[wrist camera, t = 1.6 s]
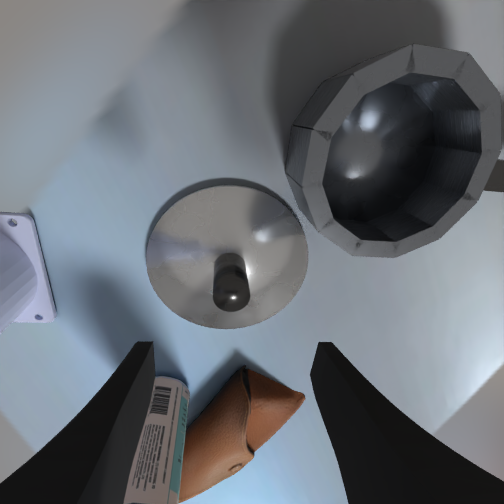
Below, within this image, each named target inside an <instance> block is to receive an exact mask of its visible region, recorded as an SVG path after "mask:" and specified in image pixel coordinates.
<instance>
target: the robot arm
mask: <svg viewBox="0 0 504 504" xmlns="http://www.w3.org/2000/svg"><path fill="white" fill-rule="evenodd" d="M12 219H14V220H16V222H17V224H14V223H13V222H12ZM38 314H39V315H41V316H39V315H38ZM56 317H57V313H56V309H55V305H54V301H53V297H52V293H51V288H50V284H49V280H48V276H47V272H46V268H45V264H44V260H43V256H42V252H41V247H40V243H39V239H38V235H37V231H36V227H35V223H34V220H33V218H32V217H31V216H29V215H28V214H24V213H9V212H0V334H1V333H2V332H3V331H4V330H5V329H6V328H7V327H8V326H9V325H10V324H11V323H12V322H39V323H49V322H52V321H54V320H55V318H56ZM310 377H311V382H312V386H313V390H314V394H315V398H316V401H317V404H318V407H319V410H320V413H321V415H322V418H323V421H324V424H325V427H326V429H327V432H328V435H329V438H330V440H331V443H332V446H333V449H334V452H335V455H336V458H337V461H338V464H339V468H340V472H341V476H342V480H343V483H344V487H345V491H346V495H347V499H348V503H349V504H504V481H502V480H500V479H499V478H497V477H495V476H494V475H492V474H490V473H488V472H486V471H485V470H483V469H482V468H480V467H478V466H477V465H475V464H473V463H472V462H470V461H469V460H467V459H466V458H464V457H463V456H461V455H460V454H458V453H456V452H455V451H453V450H452V449H450V448H449V447H448V446H446V445H445V444H443V443H442V442H440V441H439V440H438V439H436V438H435V437H434V436H432V435H431V434H430V433H428V432H427V431H425V430H424V429H423V428H421V427H420V426H419V425H418V424H416V423H415V422H414V421H412V420H411V419H410V418H409V417H408V416H406V415H405V414H404V413H403V412H402V411H400V410H399V409H398V408H397V407H396V406H394V405H393V404H392V403H391V402H390V401H389V400H388V399H387V398H386V397H385V396H383V395H382V394H381V393H380V392H379V391H378V390H377V389H376V388H375V387H374V386H373V385H372V384H371V383H370V382H369V381H368V380H367V379H366V378H365V377H364V376H363V375H362V374H361V373H360V372H359V371H358V370H357V369H356V368H355V367H354V366H353V365H352V364H351V362H350V361H349V360H348V359H347V358H346V357H345V356H344V355H343V354H342V353H341V352H340V351H339V350H338V348H337V347H336V346H335V345H334V344H333V343H332V342H319V343H318V346H317V350H316V354H315V358H314V361H313V365H312V369H311V372H310ZM154 381H155V364H154V348H153V342H139V341H138V342H137V343H135V345H134V346H133V348H132V349H131V350H130V352H129V353H128V355H127V356H126V357H125V359H124V360H123V361H122V363H121V364H120V365H119V367H118V368H117V369H116V371H115V372H114V373H113V374H112V376H111V377H110V378H109V379H108V381H107V382H106V383H105V384H104V385H103V387H102V388H101V389H100V390H99V391H98V392H97V393H96V395H95V396H94V397H93V398H92V399H91V400H90V401H89V402H88V404H87V405H86V406H85V407H84V408H83V409H82V410H81V411H80V412H79V413H78V414H77V415H76V416H75V417H74V418H73V419H72V420H71V421H70V422H69V423H68V424H67V425H66V426H65V427H64V428H63V429H62V430H61V431H60V432H59V433H58V434H57V435H56V436H55V437H54V438H53V439H52V440H51V441H49V442H48V443H47V444H46V445H45V446H44V447H43V448H42V449H41V450H40V451H39V452H37V453H36V454H35V455H34V456H33V457H32V458H31V459H29V460H28V461H27V462H26V463H25V464H23V465H22V466H21V467H20V468H19V469H17V470H16V471H15V472H14V473H12V474H11V475H10V476H9V477H8V478H7V479H5V480H4V481H3V482H2V483H0V504H123V503H124V499H125V494H126V489H127V484H128V480H129V475H130V471H131V467H132V463H133V460H134V456H135V453H136V450H137V446H138V443H139V440H140V436H141V433H142V429H143V426H144V423H145V419H146V416H147V412H148V409H149V406H150V402H151V397H152V392H153V386H154Z"/></svg>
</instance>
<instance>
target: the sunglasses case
mask: <svg viewBox="0 0 504 504" xmlns="http://www.w3.org/2000/svg"><path fill="white" fill-rule="evenodd" d="M245 367H246V365H244V366H243V367H242V368H241V369H240V370H239V371H237V372H236V373H235V374H234V375H233V376H232V377H231V379H230V380H229V381H228V382H227V383H226V384H225V386H224V387H223V388H222V389H221V391H220V392H219V393H218V394H217V395H216V397H215V398H214V399H213V400H212V402H211V403H210V404H209V405H208V406H207V407H206V408H205V409H204V411H203V412H202V413H201V414H200V416H199V417H198V418H197V419H196V420H195V421H194V422H193V423H192V424H191V425H190V426H189V427H188V428H187V429H186V433H185V443H184V452H183V462H182V472H181V481H180V491H179V501H178V503H181V502H183V501H185V500H188V499H190V498H192V497H194V496H196V495H198V494H200V493H202V492H204V491H206V490H208V489H209V488H211V487H212V486H214V485H216V484H217V483H219V482H221V481H222V480H224V479H226V478H228V477H230V476H232V475H234V474H235V473H236V472H238V471H239V470H241V469H242V468H243V467H244V466H245V465H246V464H247V463H248V462H250V461H251V460H252V459H253V458H254V452H255V451H256V450H257V449H258V448H260V447H261V446H262V445H263V444H264V443H265V442H266V441H268V440H269V439H270V438H271V437H272V436H273V435H274V434H275V433H276V432H277V431H278V430H279V429H280V428H281V427H282V426H283V425H284V424H285V423H286V422H287V420H288V419H290V417H291V416H292V415H293V414H294V413H295V412H296V411H297V410H298V409H299V407H300V406H301V405H302V403H303V402H304V400H305V396H304V394H303V393H301V392H298V391H294V390H292V389H290V388H288V387H286V386H284V385H282V384H280V383H277V382H275V381H273V380H271V379H269V378H267V377H265V376H263V375H261V374H259V373H256V372H254V371H252V370H250V369H246V368H245Z"/></svg>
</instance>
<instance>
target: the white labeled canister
mask: <svg viewBox="0 0 504 504" xmlns="http://www.w3.org/2000/svg"><path fill="white" fill-rule="evenodd" d="M189 399H190V392H189V389H188V387H187V386H186V385H185V384H184V383H183V382H182V381H180V380H178V379H175V378H171V377H167V376H158V377H155V381H154V386H153V392H152V397H151V402H150V406H149V409H148V412H147V416H146V419H145V423H144V426H143V429H142V433H141V436H140V440H139V443H138V446H137V450H136V453H135V456H134V460H133V463H132V467H131V471H130V475H129V480H128V484H127V489H126V494H125V499H124V503H123V504H178V501H179V491H180V481H181V472H182V462H183V452H184V443H185V433H186V423H187V414H188V404H189Z"/></svg>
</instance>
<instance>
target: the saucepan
mask: <svg viewBox="0 0 504 504" xmlns="http://www.w3.org/2000/svg"><path fill="white" fill-rule="evenodd" d="M292 125H293V126H292V128H291V135H290V141H289V148H288V155H287V161H286V168H285V173H286V176H287V179H288V181H289V184H290V186H291V189H292V192H293V194H294V197H295V200H296V202H297V205H298V207H299V209H300V211H301V212H302V213H303V214H304V215H305V217H306V218H307V219H308V220H309V221H310V223H311V224H312V225H313V226H314V227H315V229H316V230H317V231H318V232H319V233H320V234H322V235H323V236H325V237H326V238H327V239H329V240H330V241H332V242H333V243H334V244H336V245H337V246H339V247H340V248H342V249H343V250H344V251H346V252H347V253H349V254H350V255H352V256H365V257H387V258H395V257H398V256H401V255H403V254H406V253H408V252H410V251H413V250H415V249H417V248H420V247H422V246H424V245H427V244H429V243H431V242H434V241H436V240H438V239H439V238H441V237H442V236H443V235H444V234H445V233H446V232H447V231H448V230H449V229H450V228H451V227H452V226H453V225H454V224H455V223H456V222H458V221H459V220H460V219H461V218H462V217H463V216H464V215H465V214H466V213H467V212H468V211H469V210H470V209H471V208H472V207H473V206H474V205H475V204H476V203H477V201H478V200H479V198H480V196H481V194H482V192H483V190H485V191H496V192H504V160H500V159H498V157H499V155H500V152H501V151H500V150H501V149H502V137H501V95H500V93H499V91H498V90H497V89H496V88H495V86H494V85H493V84H492V82H491V81H490V80H489V78H488V77H487V76H486V74H485V73H484V72H483V70H482V69H481V68H480V66H479V65H478V64H477V62H476V61H475V60H474V58H473V57H472V56H471V54H470V53H469V54H468V52H462V51H455V50H449V49H443V48H437V47H431V46H425V45H419V44H411V45H408V46H405V47H402V48H399V49H396V50H393V51H390V52H388V53H385V54H382V55H379V56H376V57H373V58H370V59H368V60H366V61H364V62H362V63H360V64H358V65H356V66H354V67H352V68H350V69H348V70H346V71H344V72H342V73H340V74H338V75H336V76H334V77H332V78H330V79H328V80H326V81H324V82H323V83H321V85H320V86H319V87H318V89H317V90H316V92H315V93H314V95H313V96H312V97H311V99H310V100H309V102H308V103H307V104H306V106H305V107H304V109H303V110H302V112H301V113H300V114H299V116H298V117H297V119H296V120H295V122H294V123H293V124H292Z"/></svg>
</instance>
